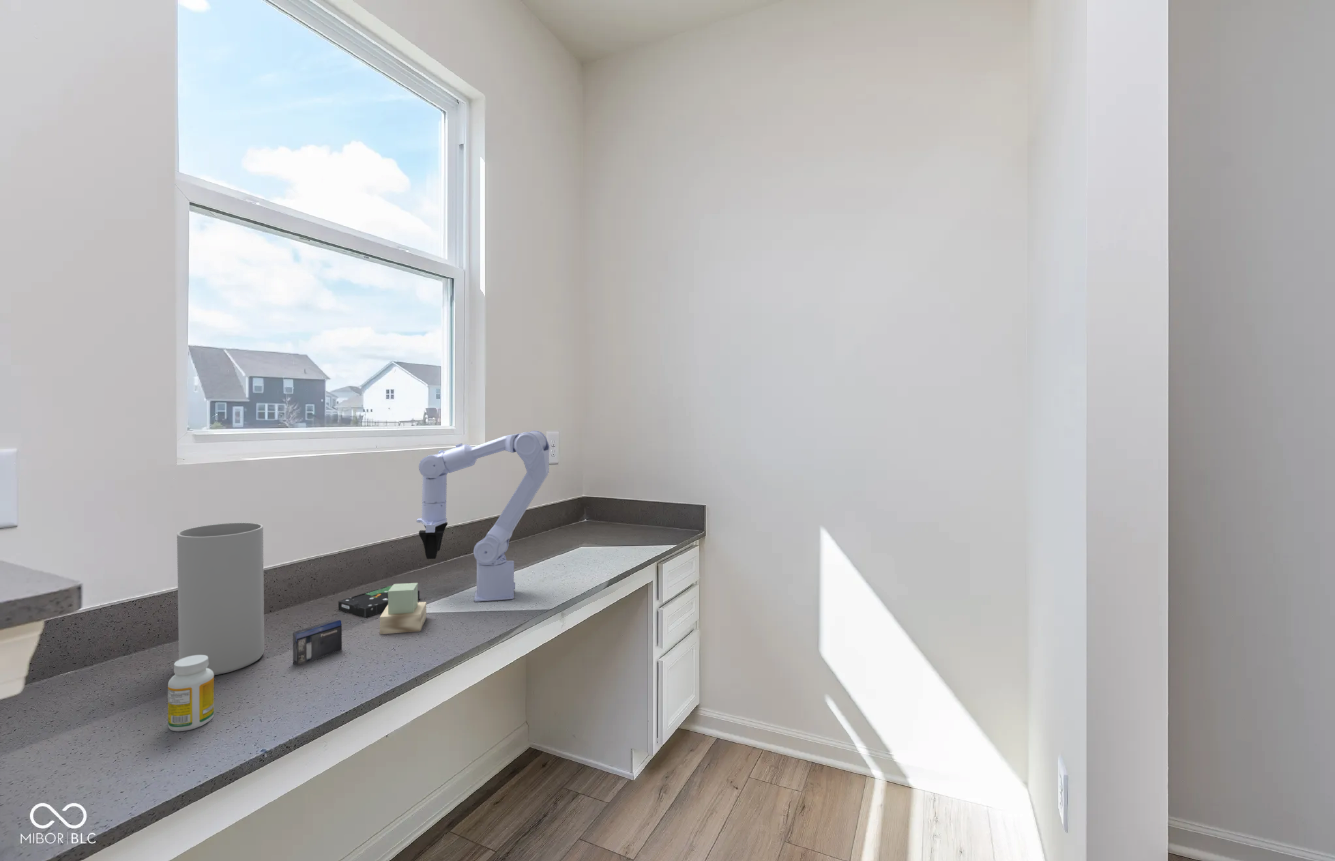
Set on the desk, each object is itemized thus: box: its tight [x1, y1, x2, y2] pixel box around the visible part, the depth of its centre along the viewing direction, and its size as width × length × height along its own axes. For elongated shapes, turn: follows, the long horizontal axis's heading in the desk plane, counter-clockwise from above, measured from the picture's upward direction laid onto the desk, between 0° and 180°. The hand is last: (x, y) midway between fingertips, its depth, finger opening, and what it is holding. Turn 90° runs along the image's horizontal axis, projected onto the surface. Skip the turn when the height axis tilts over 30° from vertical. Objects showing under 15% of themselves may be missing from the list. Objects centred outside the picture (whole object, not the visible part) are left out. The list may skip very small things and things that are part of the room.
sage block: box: [388, 582, 419, 614], centre depth 125 cm, size 5×5×5 cm
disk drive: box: [337, 585, 421, 619], centre depth 139 cm, size 10×3×15 cm
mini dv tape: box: [292, 618, 343, 666], centre depth 110 cm, size 8×2×6 cm, turn 149°
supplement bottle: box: [167, 655, 215, 732], centre depth 86 cm, size 5×5×10 cm
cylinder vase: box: [176, 522, 265, 676], centre depth 106 cm, size 12×12×25 cm
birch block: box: [379, 601, 427, 635], centre depth 126 cm, size 8×8×4 cm
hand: (433, 554), depth 146 cm, fingers open, 7 cm apart
